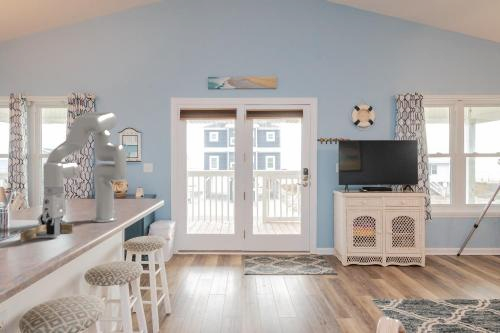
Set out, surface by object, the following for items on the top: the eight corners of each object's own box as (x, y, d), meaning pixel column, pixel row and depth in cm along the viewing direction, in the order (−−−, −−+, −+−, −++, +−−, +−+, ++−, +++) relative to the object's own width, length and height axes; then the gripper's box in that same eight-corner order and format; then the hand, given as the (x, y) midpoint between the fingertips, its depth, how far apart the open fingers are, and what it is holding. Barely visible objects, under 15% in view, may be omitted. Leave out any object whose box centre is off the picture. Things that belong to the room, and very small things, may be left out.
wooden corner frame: (48, 232, 156) (48, 223, 156) (73, 232, 156) (73, 224, 155) (20, 241, 138) (20, 232, 138) (48, 242, 138) (48, 232, 137)
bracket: (60, 234, 147) (60, 216, 146) (54, 237, 143) (54, 218, 142) (42, 234, 147) (42, 216, 147) (36, 236, 143) (36, 218, 143)
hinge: (53, 231, 157) (45, 211, 156) (42, 235, 156) (34, 215, 155) (66, 224, 173) (59, 206, 172) (57, 227, 173) (50, 209, 172)
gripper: (50, 193, 136) (50, 238, 136) (73, 189, 152) (73, 229, 153) (32, 193, 136) (32, 237, 136) (57, 189, 153) (57, 228, 153)
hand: (53, 232), depth 145 cm, fingers closed on bracket, 4 cm apart
